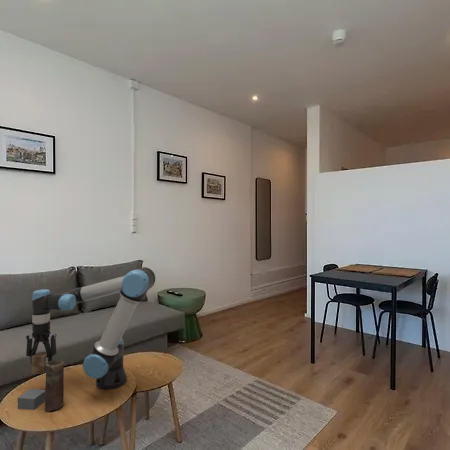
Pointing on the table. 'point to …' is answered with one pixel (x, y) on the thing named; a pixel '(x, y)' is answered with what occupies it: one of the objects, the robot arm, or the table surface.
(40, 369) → the walnut block
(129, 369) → the table surface
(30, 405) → the base block
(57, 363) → the candle
